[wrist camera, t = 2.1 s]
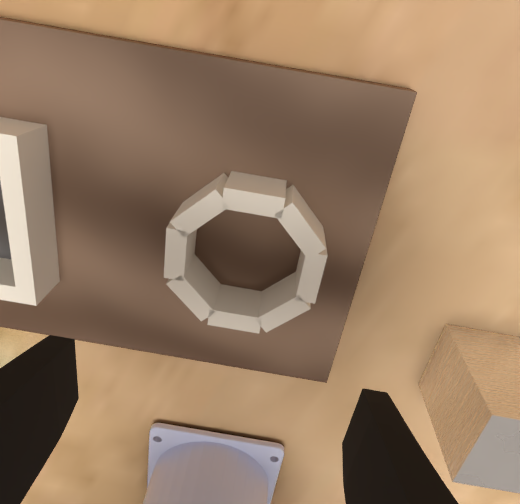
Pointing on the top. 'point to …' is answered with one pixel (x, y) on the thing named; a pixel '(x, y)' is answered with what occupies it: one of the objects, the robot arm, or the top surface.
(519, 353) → the grey rectangular block
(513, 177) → the top surface
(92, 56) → the bore board
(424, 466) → the robot arm
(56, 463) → the top surface
